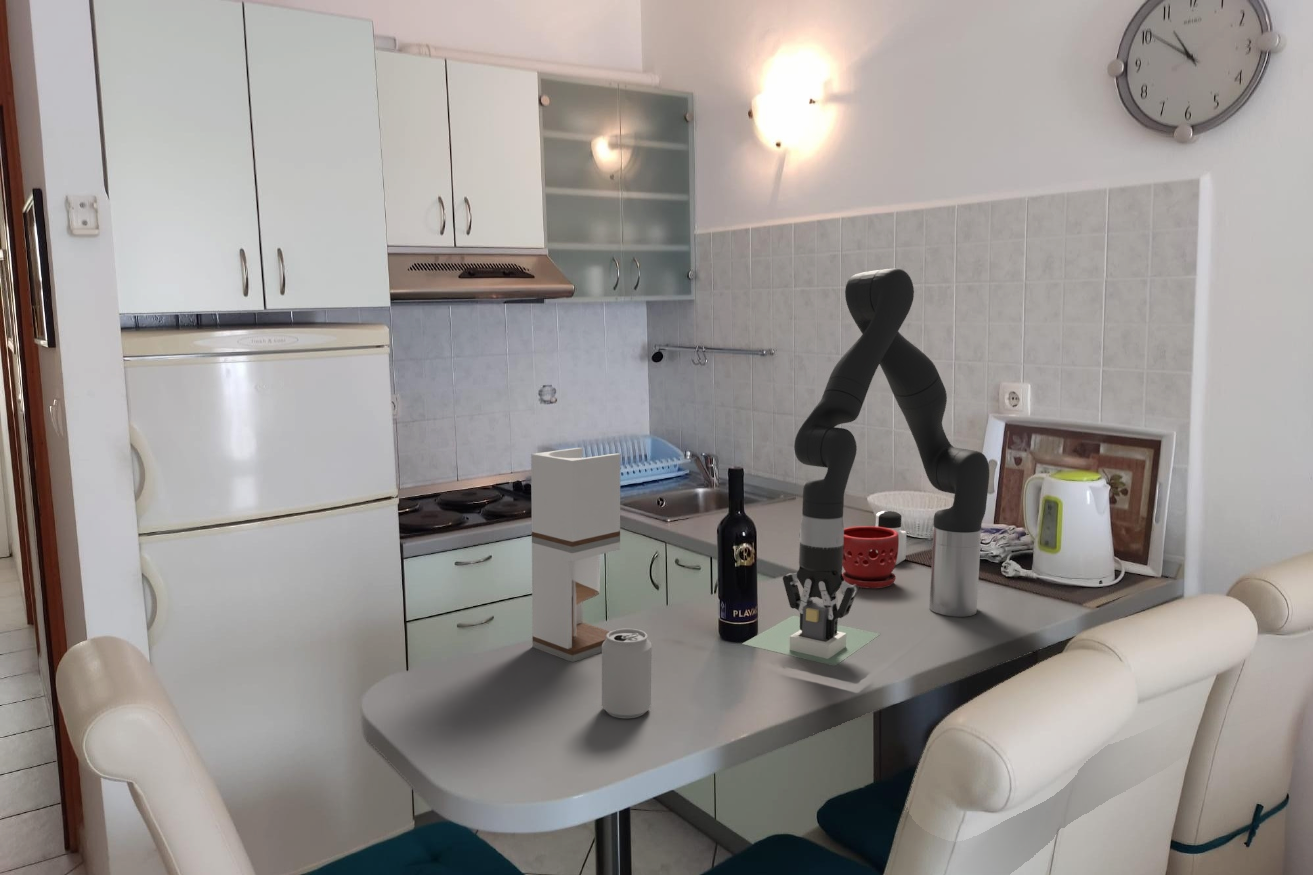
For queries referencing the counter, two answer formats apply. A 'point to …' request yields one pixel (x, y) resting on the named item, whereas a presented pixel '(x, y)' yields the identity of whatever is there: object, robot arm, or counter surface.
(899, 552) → the medicine bottle
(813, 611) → the plug
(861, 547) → the plant pot
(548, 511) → the white tall box
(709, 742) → the counter surface
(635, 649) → the can
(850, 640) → the board
